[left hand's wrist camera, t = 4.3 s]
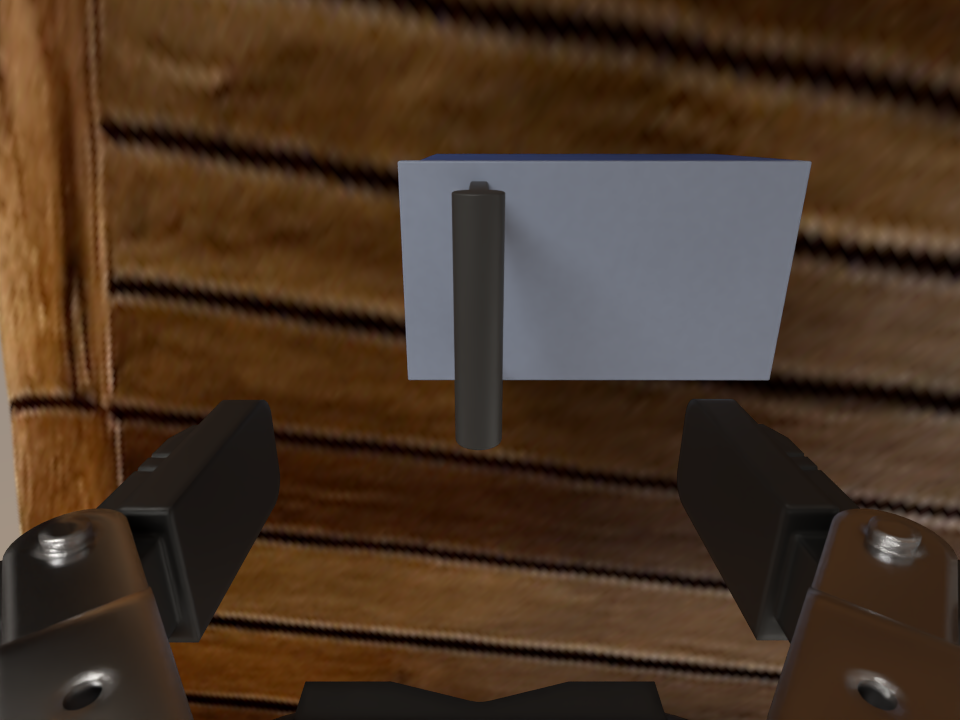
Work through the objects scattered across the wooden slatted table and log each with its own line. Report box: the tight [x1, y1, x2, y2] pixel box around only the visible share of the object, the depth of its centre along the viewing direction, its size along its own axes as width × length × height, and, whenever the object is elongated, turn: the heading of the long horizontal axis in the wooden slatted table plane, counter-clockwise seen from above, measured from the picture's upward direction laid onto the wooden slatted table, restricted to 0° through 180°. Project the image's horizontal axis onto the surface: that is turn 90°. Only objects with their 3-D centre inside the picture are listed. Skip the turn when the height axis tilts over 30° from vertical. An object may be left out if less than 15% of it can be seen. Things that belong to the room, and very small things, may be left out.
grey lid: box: [398, 161, 811, 450], centre depth 21 cm, size 16×9×8 cm, turn 90°
